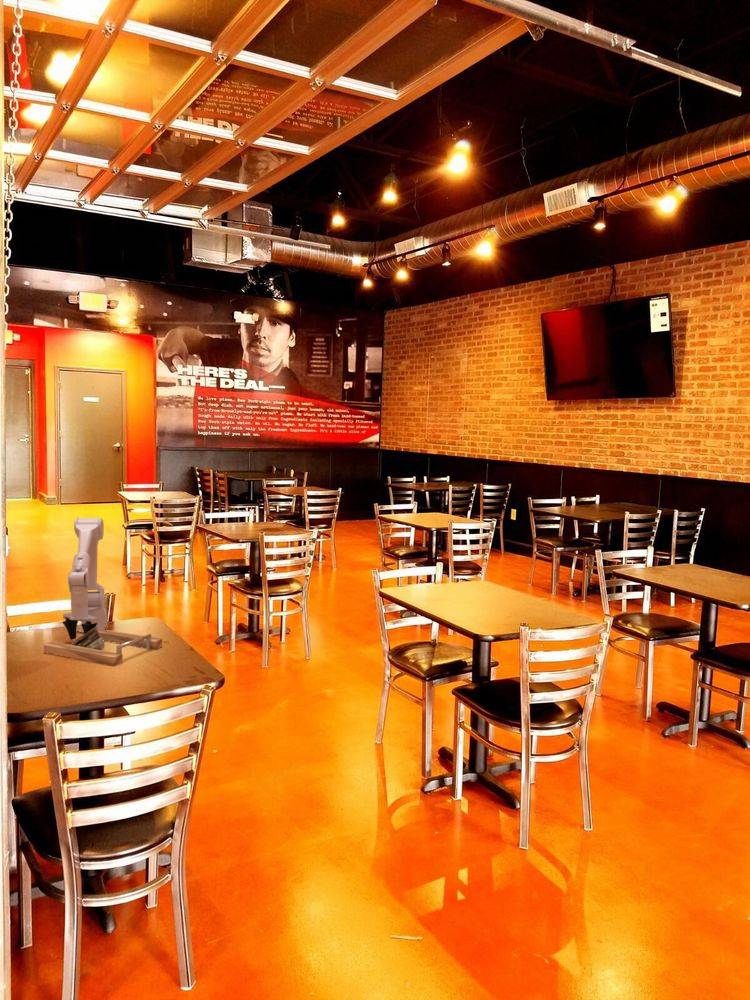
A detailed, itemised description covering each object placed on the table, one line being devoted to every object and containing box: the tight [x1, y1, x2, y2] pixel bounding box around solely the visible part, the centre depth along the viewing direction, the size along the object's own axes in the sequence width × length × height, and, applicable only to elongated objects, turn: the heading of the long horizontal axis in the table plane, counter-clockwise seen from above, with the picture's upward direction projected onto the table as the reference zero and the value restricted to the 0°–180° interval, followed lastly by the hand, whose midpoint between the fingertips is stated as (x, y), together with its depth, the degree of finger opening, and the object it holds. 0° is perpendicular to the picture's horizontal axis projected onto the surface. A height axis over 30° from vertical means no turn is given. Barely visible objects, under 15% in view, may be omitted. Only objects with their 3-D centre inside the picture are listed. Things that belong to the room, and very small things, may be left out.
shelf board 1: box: [43, 641, 124, 667], centre depth 255 cm, size 4×32×3 cm, turn 66°
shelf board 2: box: [97, 628, 163, 651], centre depth 273 cm, size 4×32×3 cm, turn 66°
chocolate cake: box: [69, 627, 105, 650], centre depth 265 cm, size 10×7×12 cm
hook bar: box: [115, 633, 152, 655], centre depth 258 cm, size 16×1×6 cm, turn 156°
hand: (80, 640), depth 270 cm, fingers open, 7 cm apart
